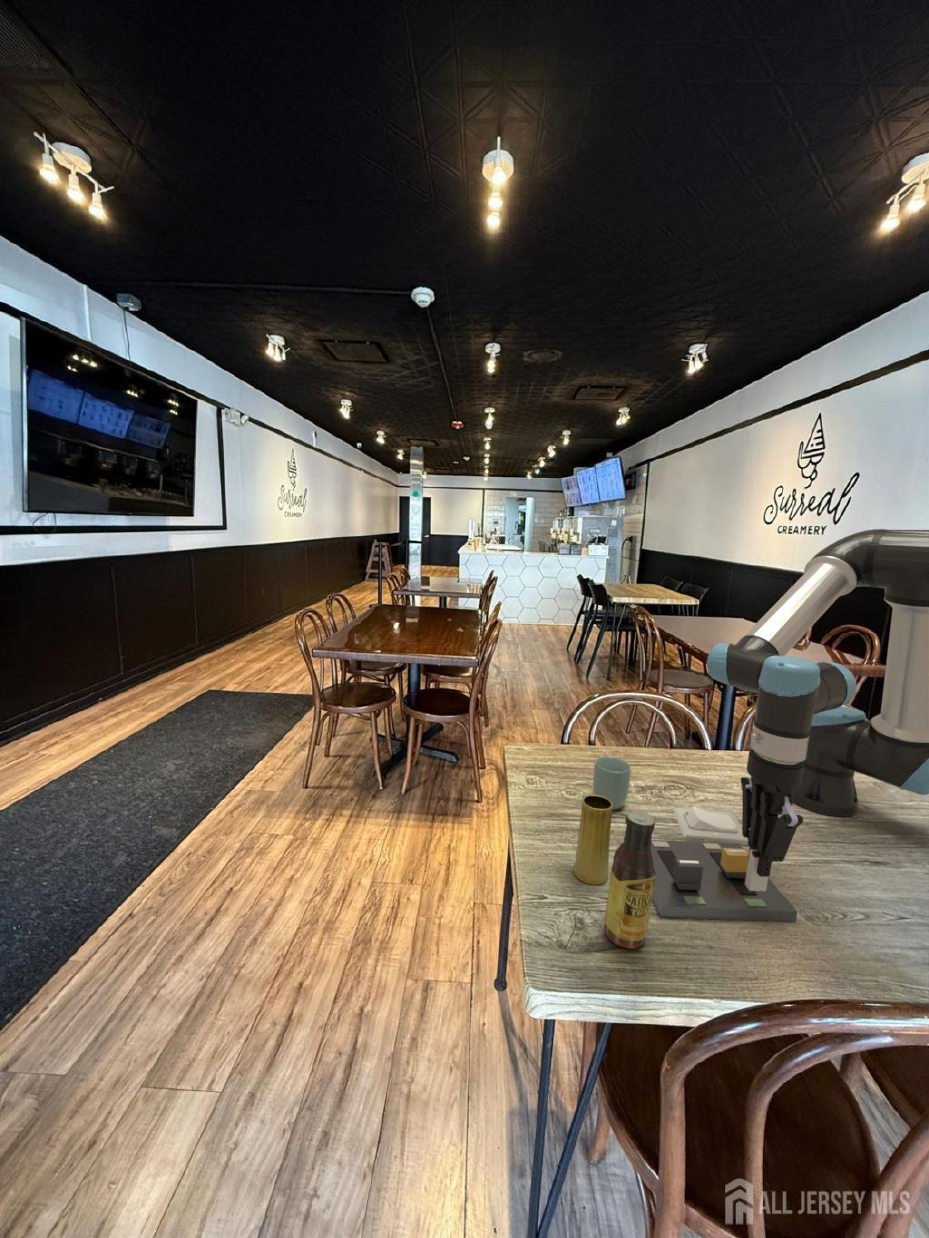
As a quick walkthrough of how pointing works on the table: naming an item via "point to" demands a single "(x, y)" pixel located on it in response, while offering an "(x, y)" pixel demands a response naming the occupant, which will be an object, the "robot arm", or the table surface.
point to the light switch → (710, 825)
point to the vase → (594, 840)
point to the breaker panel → (712, 887)
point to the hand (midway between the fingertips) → (755, 887)
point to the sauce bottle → (631, 884)
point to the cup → (612, 780)
